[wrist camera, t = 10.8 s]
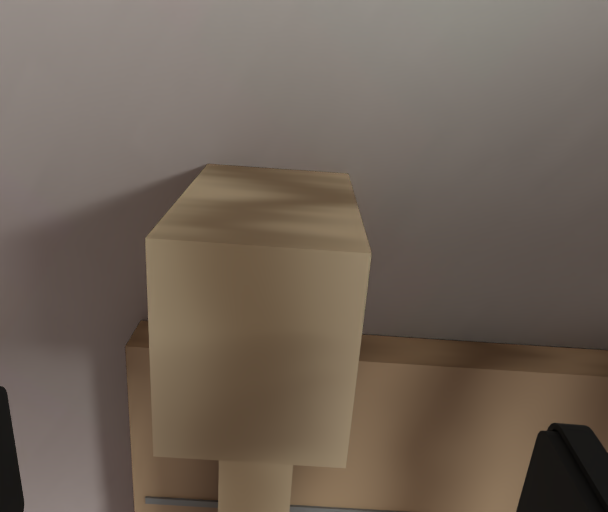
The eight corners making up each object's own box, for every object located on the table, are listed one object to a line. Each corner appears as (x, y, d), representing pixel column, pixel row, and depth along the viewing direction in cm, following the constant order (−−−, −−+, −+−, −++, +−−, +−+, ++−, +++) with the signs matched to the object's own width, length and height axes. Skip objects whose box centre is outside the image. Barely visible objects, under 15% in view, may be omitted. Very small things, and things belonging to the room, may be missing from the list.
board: (739, 358, 22) (780, 389, 20) (651, 574, 27) (678, 616, 25) (140, 320, 22) (124, 347, 20) (150, 545, 26) (137, 586, 24)
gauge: (348, 173, 20) (371, 253, 12) (317, 488, 25) (320, 679, 17) (207, 163, 20) (144, 238, 12) (206, 481, 25) (161, 670, 17)
